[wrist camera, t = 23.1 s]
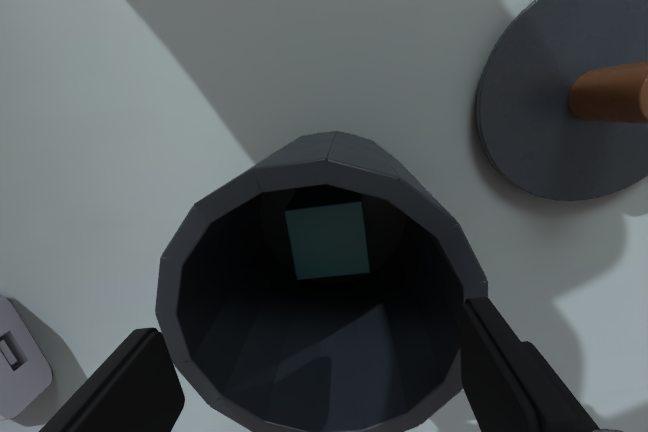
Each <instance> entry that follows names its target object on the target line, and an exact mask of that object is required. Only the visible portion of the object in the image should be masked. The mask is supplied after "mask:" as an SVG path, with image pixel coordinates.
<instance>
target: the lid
mask: <svg viewBox="0 0 648 432" xmlns="http://www.w3.org/2000/svg"><path fill="white" fill-rule="evenodd" d="M476 116H477V127H478V132H479V136H480V140H481V143H482V145H483V148H484V151H485V152H486V154H487V156H488V158H489V160H490V161H491V163H492V164H493V165H494V167H495V168H496V169H497V171H498V172H499V173H500V174H501V175H503V176H504V177H505V178H506V179H507V180H508V181H510V182H511V183H512V184H514V185H515V186H517V187H519V188H521V189H523V190H525V191H527V192H529V193H531V194H534V195H537V196H540V197H543V198H548V199H553V200H562V201H577V200H587V199H592V198H598V197H601V196H605V195H608V194H612V193H614V192H617V191H619V190H622V189H624V188H626V187H628V186H630V185H632V184H634V183H636V182H638V181H639V180H641V179H643V178H644V177H646V176H647V175H648V0H534V1H533V2H532V3H531V4H530V5H528V6H527V7H526V8H525V9H524V10H523V11H522V12H521V13H520V14H519V15H518V16H517V17H516V18H515V19H514V20H513V21H512V22H511V23H510V25H509V26H508V27H507V29H506V30H505V31H504V33H503V34H502V35H501V37H500V38H499V40H498V41H497V43H496V45H495V47H494V48H493V50H492V52H491V54H490V56H489V58H488V60H487V63H486V65H485V67H484V70H483V74H482V77H481V80H480V84H479V89H478V95H477V106H476Z"/></svg>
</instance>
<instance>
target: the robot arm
mask: <svg viewBox="0 0 648 432" xmlns="http://www.w3.org/2000/svg"><path fill="white" fill-rule="evenodd" d="M459 319H460V356H461V380H462V385H463V388H464V391H465V393H466V396H467V398H468V401H469V403H470V405H471V408H472V410H473V412H474V415H475V417H476V420H477V422H478V424H479V427H480V429H481V432H622V431H619V430H612V429H600V428H599V427H598V426H597V425H596V423H595V422H594V421H593V420H592V418H591V417H590V416H589V414H588V413H587V412H586V411H585V409H584V408H583V407H582V406H581V404H580V403H579V402H578V400H577V399H576V398H575V397H574V395H573V394H572V393H571V392H570V390H569V389H568V388H567V387H566V385H565V384H564V383H563V381H562V380H561V379H560V378H559V376H558V375H557V374H556V373H555V371H554V370H553V369H552V368H551V366H550V365H549V364H548V362H547V361H546V360H545V359H544V357H543V356H542V355H541V354H540V352H539V351H538V350H537V348H536V347H535V346H534V345H533V344H532V343H530V342H528V341H525V342H521V341H520V340H519V338H518V337H517V336H516V334H515V333H514V332H513V330H512V329H511V328H510V326H509V325H508V324H507V322H506V321H505V320H504V318H503V317H502V316H501V314H500V313H499V312H498V310H497V309H496V308H495V306H494V305H493V304H492V302H491V301H490V300H489V298H488V297H477V298H467V299H466V301H465V304H460V306H459ZM184 402H185V397H184V393H183V391H182V388H181V385H180V382H179V379H178V376H177V374H176V371H175V368H174V365H173V362H172V359H171V357H170V354H169V351H168V348H167V345H166V342H165V340H164V337H163V334H162V333H161V332H158V330H157V329H156V328H143V329H136V330H134V331H133V332H132V333H131V334H130V335H129V336H128V337H127V338H126V339H125V340H124V341H123V342H122V343H121V344H120V346H119V347H118V348H117V349H116V350H115V351H114V352H113V353H112V354H111V355H110V356H109V357H108V358H107V359H106V360H105V362H104V363H103V364H102V365H101V366H100V367H99V368H98V369H97V370H96V371H95V372H94V373H93V374H92V375H91V377H90V378H89V379H88V380H87V381H86V382H85V383H84V384H83V385H82V386H81V387H80V388H79V389H78V390H77V391H76V393H75V394H74V395H73V396H72V397H71V398H70V399H69V400H68V401H67V402H66V403H65V404H64V405H63V406H62V407H61V409H60V410H59V411H58V412H57V413H56V414H55V415H54V416H53V417H52V418H51V419H50V420H49V421H48V422H47V424H46V425H45V426H44V427H43V428H42V429H41V430H40V431H39V432H171V430H172V428H173V426H174V424H175V422H176V421H177V419H178V417H179V415H180V413H181V411H182V409H183V407H184Z"/></svg>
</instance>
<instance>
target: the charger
mask: <svg viewBox="0 0 648 432" xmlns="http://www.w3.org/2000/svg"><path fill="white" fill-rule="evenodd" d="M51 381H52V372H51V369H50V366H49V364H48V362H47V361H46V359H45V357H44V356H43V354H42V352H41V351H40V349H39V347H38V346H37V344H36V342H35V341H34V339H33V337H32V336H31V334H30V333H29V331H28V329H27V328H26V326H25V324H24V323H23V321H22V319H21V318H20V316H19V314H18V313H17V311H16V309H15V308H14V306H13V305H12V304H11V302H10V301H9V300H7V299H6V298H5V297H3V296H1V295H0V420H5V419H11V418H14V417H16V416H17V415H18V414H19V413H21V412H22V411H23V410H24V409H25V408H26V407H27V406H28V405H29V404H30V403H31V402H32V401H33V400H34V399H35V398H37V397H38V396H39V395H40V394H41V393H42V392H43V391H44V390H45V389H46V388H47V387H48V386H49V385H50V384H51Z"/></svg>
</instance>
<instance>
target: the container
mask: <svg viewBox="0 0 648 432" xmlns="http://www.w3.org/2000/svg"><path fill="white" fill-rule="evenodd" d="M328 187H338V188H342V189H345V190H349V191H353V192H357V193H361V196H362V202H363V210H364V219H365V227H366V236H367V244H368V253H369V262H370V270H371V271H370V273H361V274H351V275H342V276H332V277H322V278H312V279H302V280H297V277H296V272H295V267H294V262H293V256H292V251H291V246H290V241H289V236H288V230H287V225H286V220H285V215H284V210H285V208H286V207H287V205H288V203H289V202H290V200H291V198H292V197H293V195H294V193H295V192H298V191H305V190H313V189H321V188H328ZM477 297H488V281H487V278H486V276H485V274H484V272H483V270H482V268H481V266H480V264H479V262H478V260H477V258H476V256H475V254H474V252H473V250H472V248H471V246H470V244H469V242H468V240H467V238H466V236H465V234H464V232H463V230H462V228H461V226H460V224H459V223H458V222H457V221H456V219H455V218H454V217H453V216H452V215H451V214H450V213H449V212H448V211H447V210H446V209H445V208H444V207H443V206H442V205H441V204H440V203H439V202H438V201H437V200H436V199H435V198H434V197H433V196H432V195H431V194H430V193H429V192H428V191H427V190H426V189H425V188H424V187H423V186H422V185H421V184H420V183H419V181H418V180H417V179H416V178H415V177H414V176H413V175H412V174H411V173H410V172H409V171H408V170H407V169H406V168H405V167H404V166H403V165H402V164H401V163H400V162H399V161H398V160H397V159H395V158H394V157H393V156H391V155H390V154H389V153H388V152H386V151H385V150H384V149H383V148H381V147H380V146H379V145H377V144H376V143H375V142H374V141H371V140H369V139H366V138H362V137H359V136H356V135H352V134H347V133H343V132H339V131H333V132H325V133H317V134H312V135H306V136H302V137H299V138H298V139H296V140H294V141H293V142H291V143H289V144H288V145H286V146H285V147H283V148H281V149H280V150H278V151H277V152H275V153H273V154H272V155H270V156H269V157H267V158H265V159H264V160H262V161H261V162H259V163H258V164H256V165H255V166H253V167H251V168H250V169H248V170H247V171H245V172H244V173H242V174H240V175H239V176H237V177H236V178H234V179H233V180H231V181H229V182H228V183H226V184H225V185H223V186H222V187H220V188H218V189H217V190H215V191H214V192H212V193H211V194H209V195H207V196H206V197H204V198H203V199H201V200H200V201H198V202H197V203H195V204H194V206H193V207H192V208H191V210H190V211H189V213H188V214H187V216H186V218H185V219H184V221H183V222H182V224H181V225H180V227H179V229H178V230H177V232H176V233H175V235H174V237H173V238H172V240H171V241H170V243H169V244H168V246H167V248H166V249H165V251H164V252H163V254H162V256H161V259H160V269H159V278H158V288H157V298H156V308H155V312H156V317H157V320H158V323H159V326H160V328H161V331H162V334H163V337H164V340H165V342H166V345H167V348H168V351H169V354H170V357H171V359H172V362H173V364H174V365H175V367H176V368H177V369H178V370H179V371H180V373H181V374H182V375H183V376H184V377H185V378H186V380H187V381H188V382H189V383H190V384H191V385H192V387H193V388H194V389H195V390H196V391H197V392H198V394H199V395H200V396H201V397H202V398H203V399H204V401H205V402H206V403H207V404H208V405H210V407H212V408H213V409H215V410H217V411H218V412H220V413H222V414H224V415H225V416H227V417H229V418H230V419H232V420H234V421H235V422H237V423H239V424H240V425H242V426H244V427H245V428H247V429H249V430H250V431H252V432H404V431H407V430H409V429H412V428H415V427H417V426H419V424H422V423H424V422H425V421H426V420H427V419H428V418H429V417H431V416H432V415H433V414H434V413H435V412H437V411H438V410H439V409H440V408H441V407H442V406H444V405H445V404H446V403H447V402H448V401H450V400H451V399H452V398H453V397H454V396H455V395H457V394H458V393H459V392H460V391H461V389H463V385H462V380H461V356H460V319H459V306H460V304H465V301H466V299H467V298H477Z"/></svg>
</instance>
